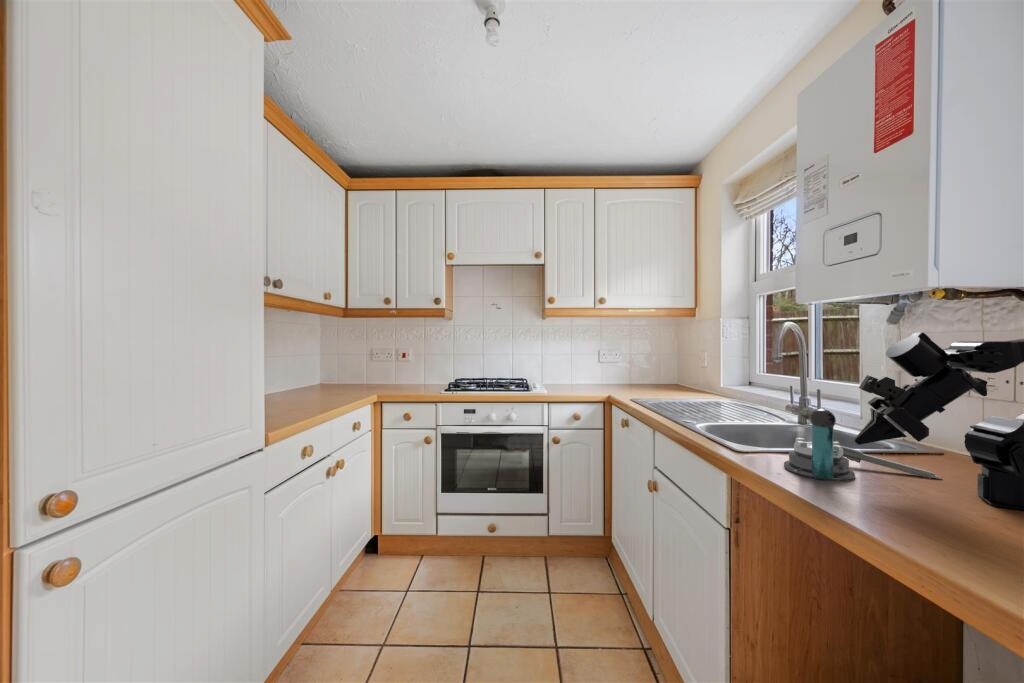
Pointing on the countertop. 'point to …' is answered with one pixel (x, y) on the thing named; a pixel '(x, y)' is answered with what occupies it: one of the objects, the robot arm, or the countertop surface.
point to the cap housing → (804, 468)
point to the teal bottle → (821, 444)
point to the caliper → (885, 463)
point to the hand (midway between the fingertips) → (855, 442)
